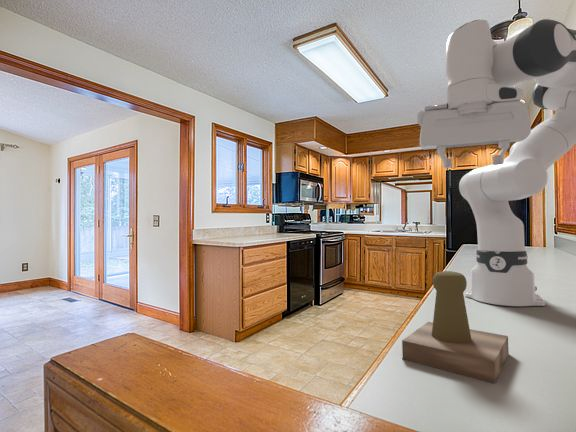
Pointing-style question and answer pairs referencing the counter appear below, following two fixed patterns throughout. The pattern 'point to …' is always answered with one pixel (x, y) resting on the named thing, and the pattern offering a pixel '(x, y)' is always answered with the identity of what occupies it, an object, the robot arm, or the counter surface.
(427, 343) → the walnut base
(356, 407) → the counter surface
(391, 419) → the counter surface
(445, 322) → the olive pawn
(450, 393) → the counter surface
